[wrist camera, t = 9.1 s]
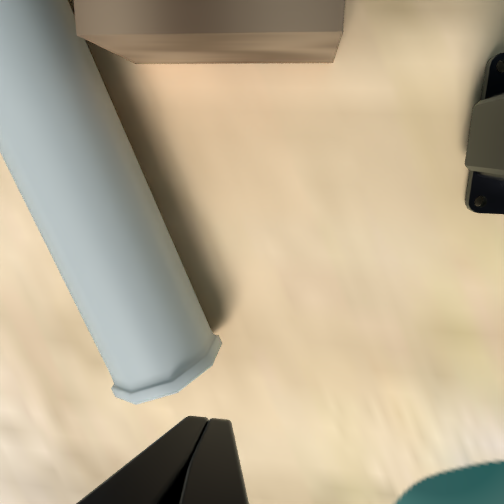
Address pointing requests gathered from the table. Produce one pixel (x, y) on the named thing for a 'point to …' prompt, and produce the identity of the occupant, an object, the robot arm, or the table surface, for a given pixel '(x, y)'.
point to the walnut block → (213, 30)
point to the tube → (96, 205)
